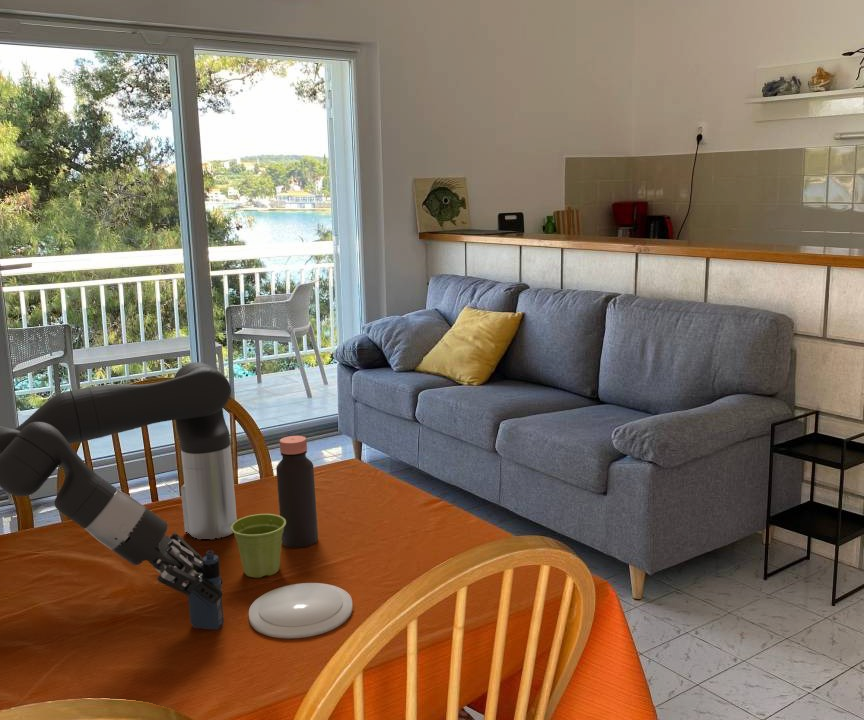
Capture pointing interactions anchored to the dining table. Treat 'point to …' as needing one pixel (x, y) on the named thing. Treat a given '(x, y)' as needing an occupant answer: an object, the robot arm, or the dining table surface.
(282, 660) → the dining table surface
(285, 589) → the plate
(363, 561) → the dining table surface
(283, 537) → the bottle
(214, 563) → the vaping device
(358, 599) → the dining table surface
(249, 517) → the plant pot
